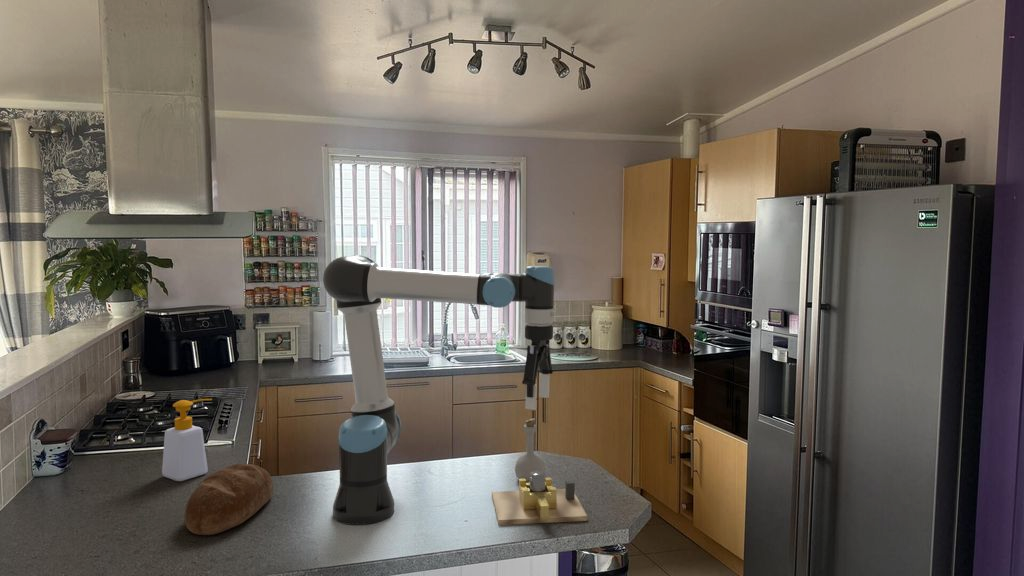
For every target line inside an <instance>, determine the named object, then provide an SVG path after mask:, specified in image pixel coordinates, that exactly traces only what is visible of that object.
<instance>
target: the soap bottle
mask: <svg viewBox="0 0 1024 576" xmlns="http://www.w3.org/2000/svg"><path fill="white" fill-rule="evenodd" d="M212 400H213V398H199V399H195V400H189V399H188V400H186V399H180V400H178V401H176V402H174V403H173V404H172V407H173V408H175V411H176V412H179V414H180V415H179V417H176V418H174V427H171V428H167V429H166V430H165V431H164V438H163V439H164V440H163V441H164V442H163V453H162V467H161V474H162V476H163V478H164V477H165V478H167V479H170V480H172V481H176V482H185V481H186V480H190V479H192V478H196V477H199V476H202V475H205V474H206V473H208V471H209V468H208V461H207V454H206V446H205V440H204V431H203V428H202V427H200V426H198V425H197V426H195V425H193V417H192V416H187V411H190V410H191V406H193V405H194V403H197V402H202V401H212Z"/></svg>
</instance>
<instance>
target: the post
mask: <svg viewBox="0 0 1024 576" xmlns="http://www.w3.org/2000/svg"><path fill="white" fill-rule="evenodd" d="M545 478H546V472H545V473H544V472H542V471H533V472H531V473H530V493H537V492H545Z"/></svg>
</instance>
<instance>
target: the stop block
mask: <svg viewBox="0 0 1024 576" xmlns="http://www.w3.org/2000/svg"><path fill="white" fill-rule="evenodd" d="M575 484H576V483H575V482H574V480H565V488H564V489H565V497H566V499H567V500H574V494H575V495H576V493H575V492H576V491H575V486H576V485H575Z"/></svg>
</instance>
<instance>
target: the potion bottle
mask: <svg viewBox="0 0 1024 576" xmlns="http://www.w3.org/2000/svg"><path fill="white" fill-rule="evenodd" d="M535 421H536V419H535V418H529V419H526V420H525V424H524V425H523V429H524V430H523V431H524V433H525V435H526V444H525V445H526V451H525V452H526V453H522V454H520V455H519V456H518V457H517V459H516V461H515V462H516V463H515V467H514V471H515V477H516V478H518V480H517V481H518V482H519V479H526V483H530V473H531V472H533V471H542V472H544V473H545V474H546V466H545V462H544V459H543V458H542V457H541V456H540V454H538V453H535V448H534V447H535V433H536V431H537V425H536V424H535Z"/></svg>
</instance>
